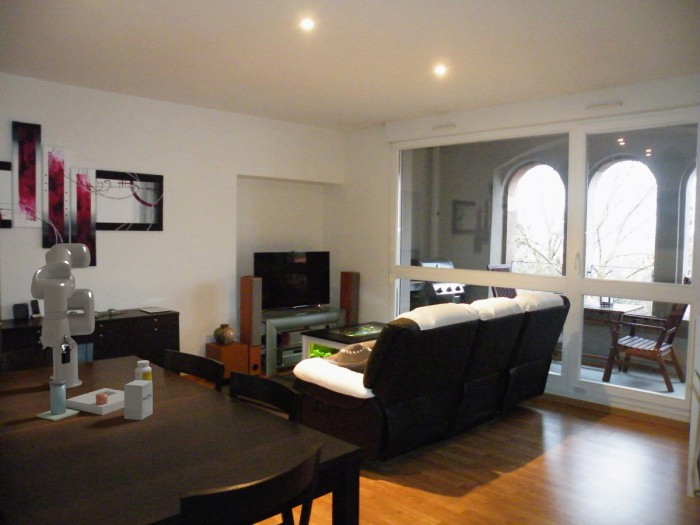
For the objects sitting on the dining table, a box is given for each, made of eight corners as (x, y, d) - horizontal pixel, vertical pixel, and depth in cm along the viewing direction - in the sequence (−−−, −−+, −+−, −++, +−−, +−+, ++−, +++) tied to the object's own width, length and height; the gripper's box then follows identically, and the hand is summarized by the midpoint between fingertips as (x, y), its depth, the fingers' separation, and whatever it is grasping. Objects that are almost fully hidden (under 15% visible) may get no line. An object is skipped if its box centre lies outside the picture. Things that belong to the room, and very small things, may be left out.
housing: (66, 407, 210) (66, 399, 210) (105, 395, 226) (105, 387, 226) (102, 415, 201) (102, 407, 201) (140, 401, 218) (140, 394, 217)
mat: (36, 416, 199) (36, 415, 199) (61, 408, 208) (61, 407, 208) (54, 420, 195) (54, 419, 195) (79, 412, 204) (79, 411, 204)
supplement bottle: (154, 389, 235) (154, 359, 234) (147, 393, 228) (147, 363, 228) (139, 388, 235) (139, 359, 235) (132, 393, 229) (131, 363, 228)
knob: (93, 410, 205) (93, 395, 205) (102, 407, 208) (102, 392, 208) (101, 411, 203) (100, 396, 203) (110, 408, 207) (109, 394, 206)
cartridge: (46, 413, 200) (45, 382, 200) (60, 409, 205) (59, 378, 205) (56, 416, 198) (55, 384, 197) (70, 411, 203) (69, 380, 202)
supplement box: (142, 420, 196) (141, 385, 195) (123, 419, 197) (123, 384, 197) (153, 413, 203) (153, 380, 202) (135, 412, 205) (135, 379, 204)
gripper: (30, 315, 200) (32, 360, 201) (62, 319, 193) (63, 366, 194) (49, 312, 207) (51, 356, 208) (81, 316, 199) (82, 362, 201)
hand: (57, 361), depth 201 cm, fingers open, 9 cm apart
